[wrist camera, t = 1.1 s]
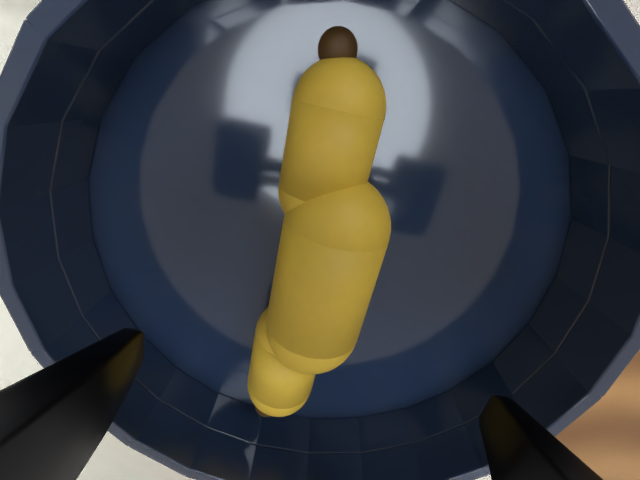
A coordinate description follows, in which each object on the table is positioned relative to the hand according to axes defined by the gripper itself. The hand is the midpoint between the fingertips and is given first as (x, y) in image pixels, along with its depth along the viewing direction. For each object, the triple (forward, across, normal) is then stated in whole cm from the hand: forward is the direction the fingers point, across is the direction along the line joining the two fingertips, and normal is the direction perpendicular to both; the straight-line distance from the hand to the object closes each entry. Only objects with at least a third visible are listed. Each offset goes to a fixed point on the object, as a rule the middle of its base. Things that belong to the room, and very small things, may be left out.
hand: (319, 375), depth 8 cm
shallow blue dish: (+7, 0, 0) cm, 7 cm away
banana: (+7, 0, 0) cm, 7 cm away
